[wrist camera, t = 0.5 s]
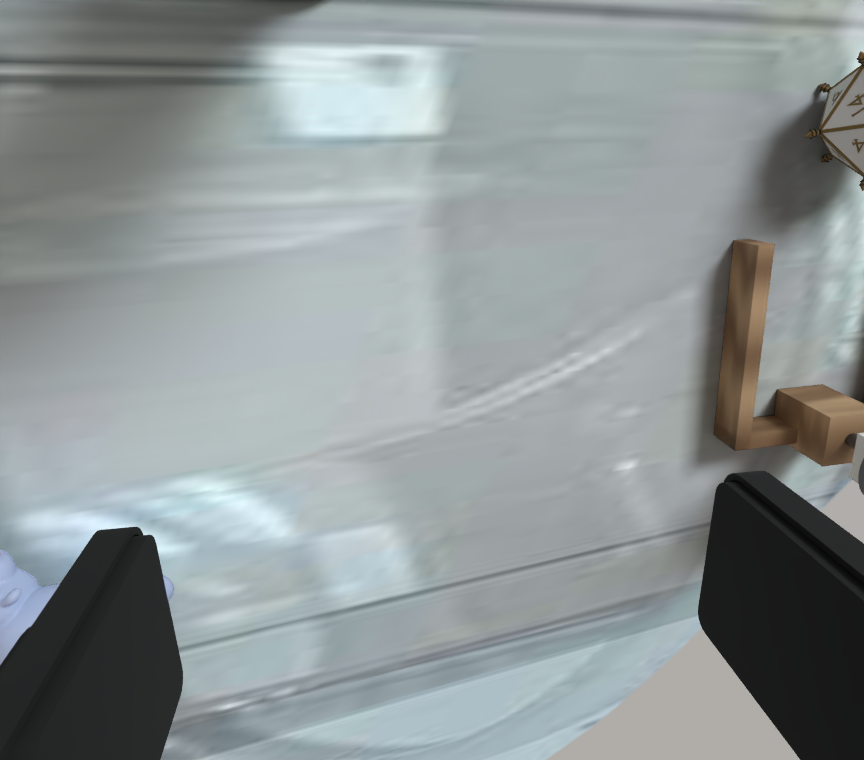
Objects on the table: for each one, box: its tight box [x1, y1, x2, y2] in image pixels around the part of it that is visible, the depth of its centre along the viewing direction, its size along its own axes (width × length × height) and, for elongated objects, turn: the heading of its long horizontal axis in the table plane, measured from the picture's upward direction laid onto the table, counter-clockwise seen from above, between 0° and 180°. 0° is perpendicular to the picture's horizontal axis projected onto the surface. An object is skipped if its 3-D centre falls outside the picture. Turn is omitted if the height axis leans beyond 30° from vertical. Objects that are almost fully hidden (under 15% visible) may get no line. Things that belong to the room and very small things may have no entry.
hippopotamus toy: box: [0, 549, 173, 665], centre depth 44 cm, size 11×15×10 cm
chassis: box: [714, 239, 864, 466], centre depth 46 cm, size 16×14×8 cm
